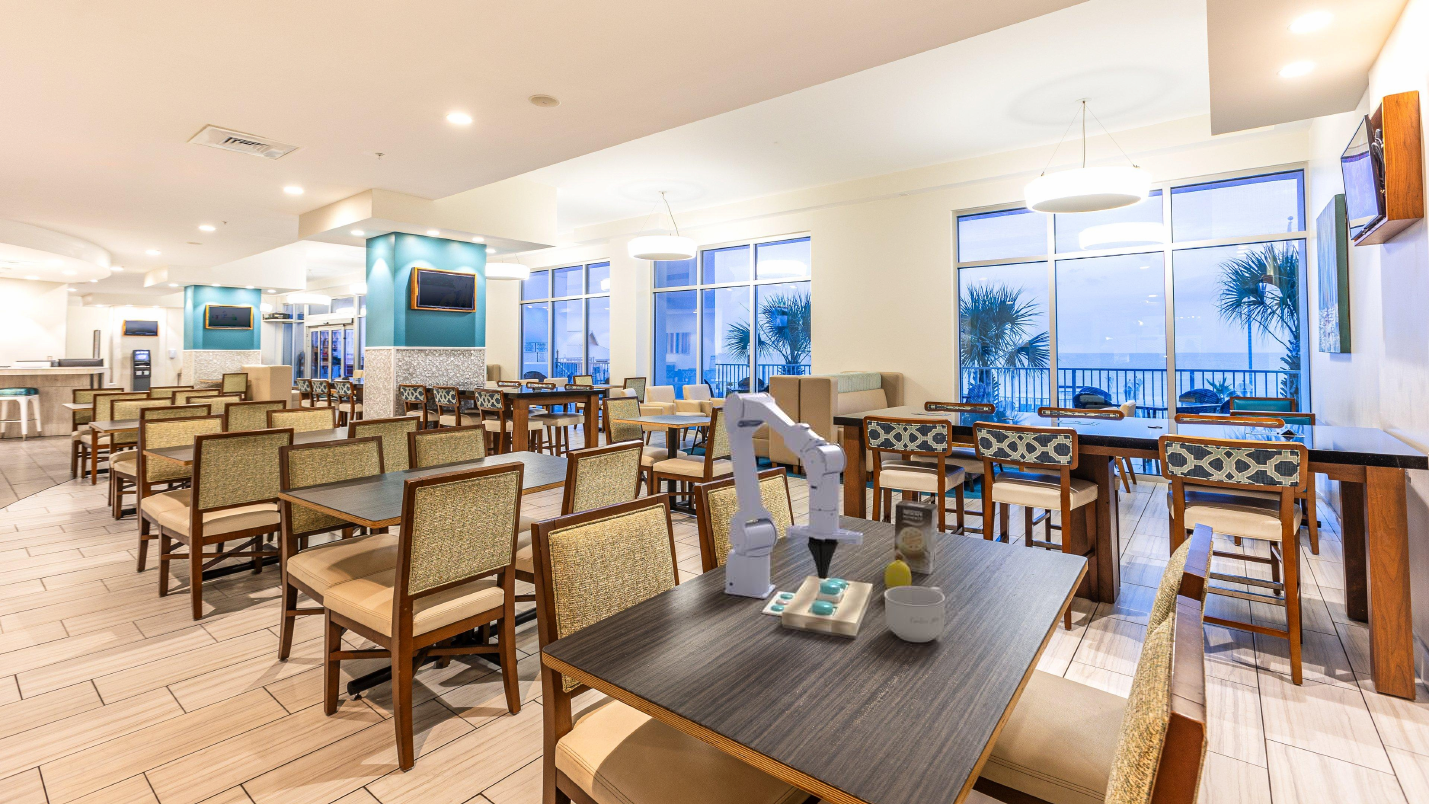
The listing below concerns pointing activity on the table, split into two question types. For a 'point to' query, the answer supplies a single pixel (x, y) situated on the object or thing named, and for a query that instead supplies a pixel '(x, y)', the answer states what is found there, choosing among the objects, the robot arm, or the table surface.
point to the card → (778, 603)
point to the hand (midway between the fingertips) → (823, 577)
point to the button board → (847, 610)
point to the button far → (840, 582)
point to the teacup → (915, 612)
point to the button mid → (830, 592)
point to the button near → (823, 608)
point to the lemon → (897, 575)
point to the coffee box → (916, 535)
